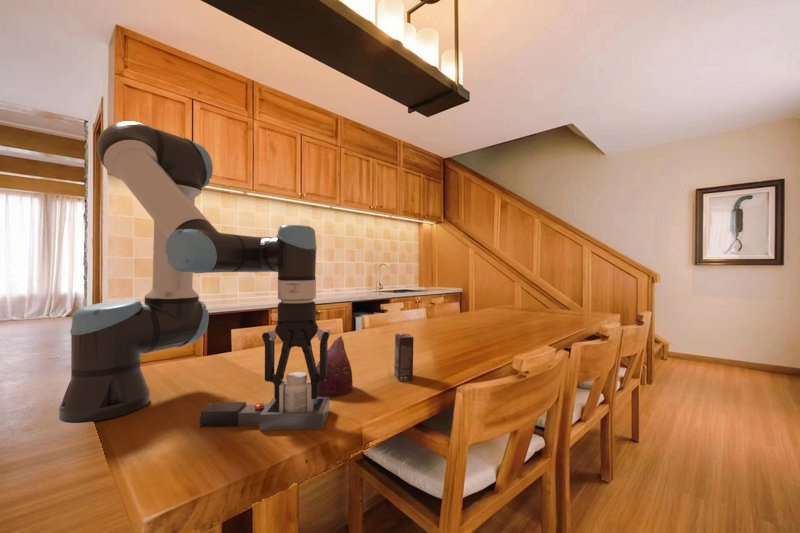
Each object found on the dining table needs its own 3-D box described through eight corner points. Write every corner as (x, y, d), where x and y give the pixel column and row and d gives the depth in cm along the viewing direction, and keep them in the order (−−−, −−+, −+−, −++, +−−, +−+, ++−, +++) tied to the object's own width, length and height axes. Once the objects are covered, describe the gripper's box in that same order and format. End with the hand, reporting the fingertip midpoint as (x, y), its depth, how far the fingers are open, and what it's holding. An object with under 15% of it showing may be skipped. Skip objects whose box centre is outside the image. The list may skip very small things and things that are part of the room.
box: (414, 380, 95) (414, 337, 95) (398, 381, 94) (398, 337, 94) (408, 373, 101) (408, 333, 101) (393, 374, 100) (394, 333, 100)
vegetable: (336, 393, 94) (344, 337, 98) (359, 398, 86) (366, 338, 90) (302, 392, 87) (311, 333, 91) (324, 398, 79) (333, 333, 84)
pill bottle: (312, 411, 72) (312, 371, 72) (303, 421, 67) (303, 378, 67) (290, 410, 72) (290, 370, 72) (280, 420, 68) (280, 377, 68)
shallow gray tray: (194, 432, 65) (194, 415, 65) (216, 413, 73) (216, 398, 73) (322, 428, 66) (322, 412, 66) (329, 410, 74) (329, 395, 75)
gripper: (245, 303, 66) (244, 424, 66) (338, 302, 67) (338, 421, 67) (259, 299, 73) (258, 408, 73) (342, 299, 74) (342, 406, 74)
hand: (296, 414), depth 70 cm, fingers closed on pill bottle, 5 cm apart
